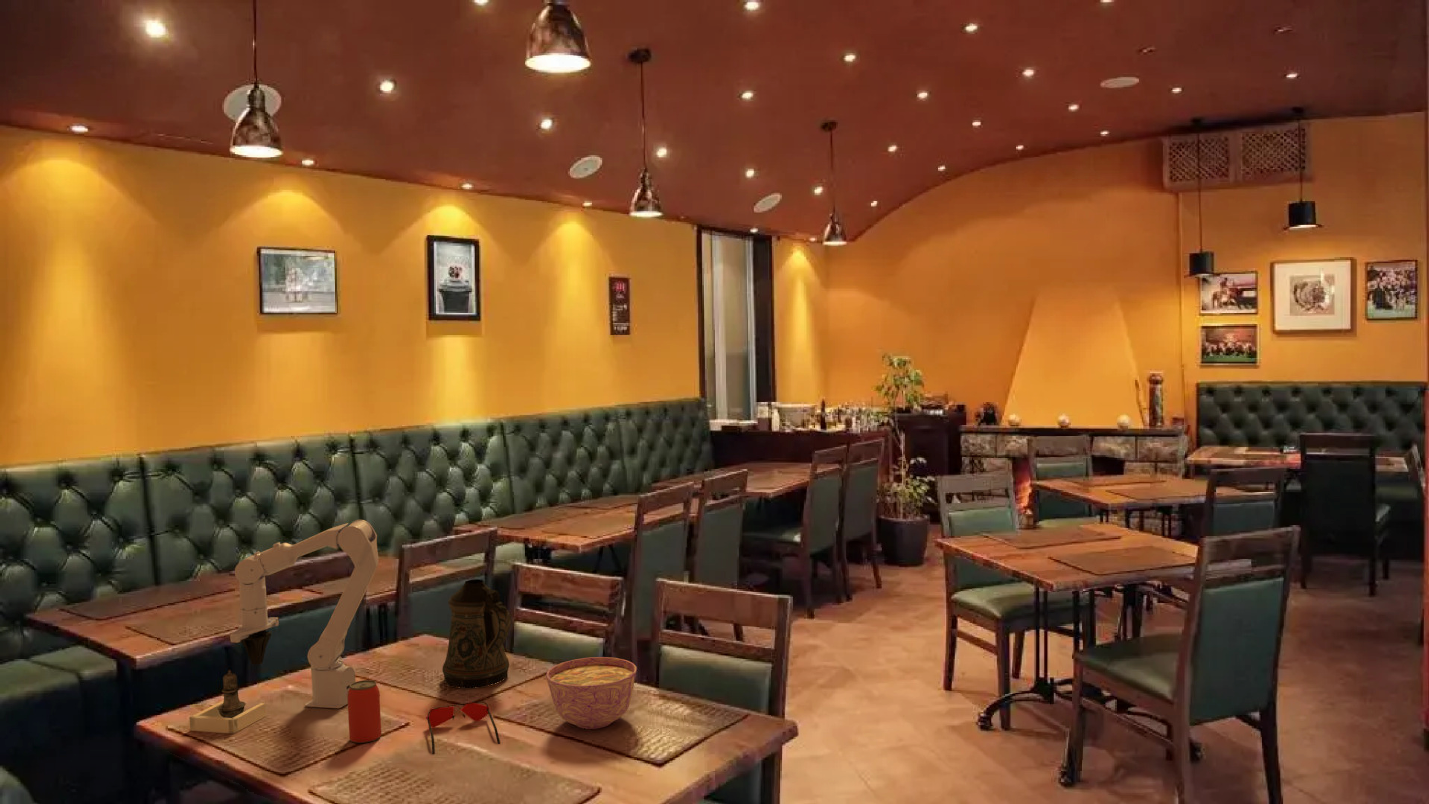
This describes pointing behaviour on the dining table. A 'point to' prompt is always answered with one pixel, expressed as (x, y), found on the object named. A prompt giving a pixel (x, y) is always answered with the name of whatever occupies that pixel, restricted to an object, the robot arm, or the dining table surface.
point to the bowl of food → (592, 690)
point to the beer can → (364, 711)
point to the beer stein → (476, 637)
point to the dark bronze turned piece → (231, 697)
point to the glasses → (446, 713)
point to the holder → (225, 719)
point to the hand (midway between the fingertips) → (257, 663)
